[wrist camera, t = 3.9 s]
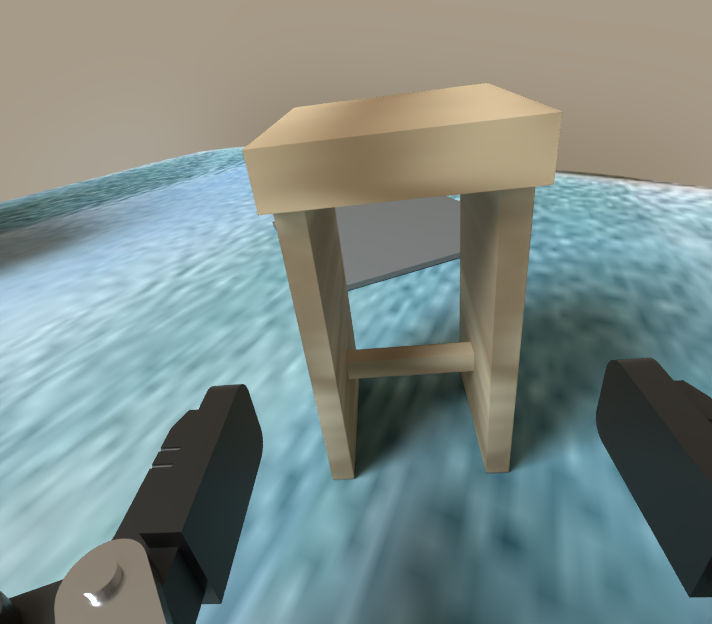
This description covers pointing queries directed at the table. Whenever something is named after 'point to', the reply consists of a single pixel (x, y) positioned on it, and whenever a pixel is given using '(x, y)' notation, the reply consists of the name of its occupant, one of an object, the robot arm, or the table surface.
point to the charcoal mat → (396, 237)
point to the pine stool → (403, 182)
